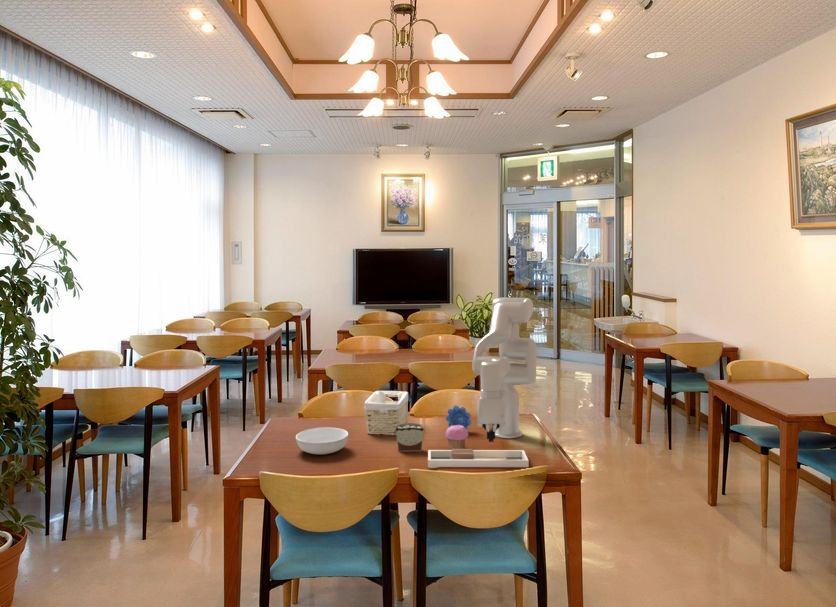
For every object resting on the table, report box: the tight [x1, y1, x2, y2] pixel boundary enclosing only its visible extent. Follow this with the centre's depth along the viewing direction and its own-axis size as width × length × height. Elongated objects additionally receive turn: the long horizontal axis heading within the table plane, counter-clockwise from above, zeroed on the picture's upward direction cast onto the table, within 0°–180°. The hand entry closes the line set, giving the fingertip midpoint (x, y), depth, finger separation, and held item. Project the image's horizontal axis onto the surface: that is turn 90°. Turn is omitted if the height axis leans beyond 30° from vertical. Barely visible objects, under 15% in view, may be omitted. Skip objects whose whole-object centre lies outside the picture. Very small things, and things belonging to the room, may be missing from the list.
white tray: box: [427, 449, 530, 469], centre depth 243 cm, size 12×37×3 cm, turn 89°
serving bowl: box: [295, 426, 349, 456], centre depth 258 cm, size 21×21×7 cm
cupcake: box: [445, 425, 469, 450], centre depth 258 cm, size 9×9×10 cm
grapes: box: [445, 405, 472, 431], centre depth 282 cm, size 12×7×12 cm, turn 102°
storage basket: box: [364, 390, 409, 436], centre depth 290 cm, size 24×16×15 cm
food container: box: [394, 422, 426, 452], centre depth 260 cm, size 12×6×10 cm, turn 92°
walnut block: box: [451, 448, 474, 459], centre depth 242 cm, size 6×8×4 cm
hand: (491, 440), depth 243 cm, fingers closed
